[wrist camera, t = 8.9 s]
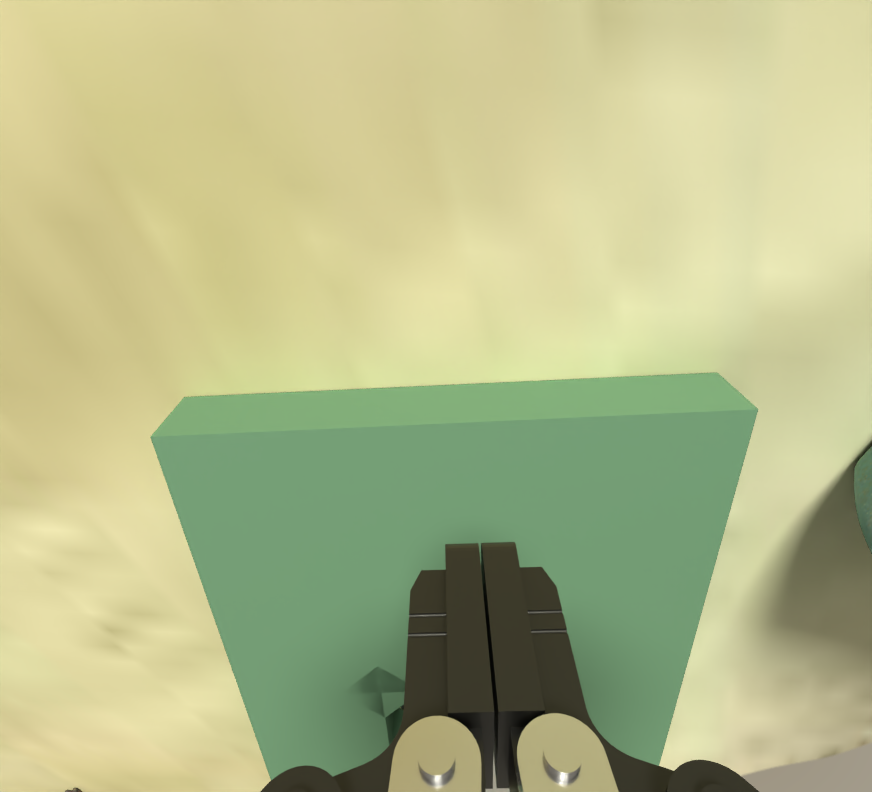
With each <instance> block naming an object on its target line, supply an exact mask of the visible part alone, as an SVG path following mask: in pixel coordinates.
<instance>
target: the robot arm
mask: <svg viewBox="0 0 872 792" xmlns="http://www.w3.org/2000/svg"><path fill="white" fill-rule="evenodd" d="M445 564H446V570H421V572H420V574H419V575H418V577H417V579H416V581H415V583H414V585H413V586H412V588H411V590H410V604H409V622H408V640H407V658H406V675H405V693H404V711H403V718H402V722H401V726H400V728H399V730H398V733H397V735H396V736H395V738H394V740H393V741H392V743H391V744H390V745H389V746H388V747H387V749H386V750H385V751H383V752H382V753H381V754H380V755H379V756H377V757H376V758H374V759H373V760H371V761H369V762H367V763H365V764H363V765H360V766H358V767H355V768H353V769H350V770H348V771H345V772H343V773H340V774H338V775H335V776H333V777H332V775H330V774H329V773H328V772H327V771H325V770H323V769H321V768H319V767H315V766H306V765H304V766H297V767H294V768H291V769H288V770H286V771H284V772H282V773H281V774H279V775H278V776H276V777H275V778H274V779H273V780H271V781H270V782H269V783H268V784H267V785H266V786H265V787H264V788H263V790H262V791H261V792H486V789H493V753H494V764H495V776H496V787H497V788H509V790H510V792H759V791H758V790H756V789H755V788H754V787H753V786H752V785H751V784H749V783H748V782H747V781H746V780H745V779H743V778H742V777H741V776H740V775H738V774H737V773H736V772H734V771H732V770H731V769H729V768H727V767H725V766H723V765H721V764H718V763H715V762H711V761H706V760H693V761H689V762H686V763H684V764H682V765H680V766H679V767H678V768H677V769H676V770H675V771H672V770H669V769H666V768H663V767H660V766H657V765H654V764H651V763H648V762H645V761H642V760H639V759H636V758H634V757H631V756H629V755H627V754H625V753H623V752H621V751H620V750H618V749H617V748H615V747H614V746H612V745H611V744H610V743H609V742H608V741H607V740H606V739H605V738H604V737H603V736H602V735H601V734H600V733H599V732H598V730H597V729H596V727H595V726H594V724H593V723H592V721H591V719H590V717H589V715H588V712H587V708H586V705H585V701H584V697H583V693H582V689H581V685H580V680H579V676H578V672H577V668H576V664H575V660H574V656H573V652H572V648H571V644H570V640H569V635H568V634H567V627H566V623H565V619H564V615H563V614H562V607H561V603H560V599H559V594H558V590H557V586H556V585H555V584H554V582H553V581H552V580H551V578H550V577H549V576H548V574H547V573H546V572H545V570H544V569H543V568H542V567H520V565H519V559H518V554H517V548H516V544H515V542H490V543H481V563H480V552H479V544H478V543H462V544H445Z"/></svg>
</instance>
